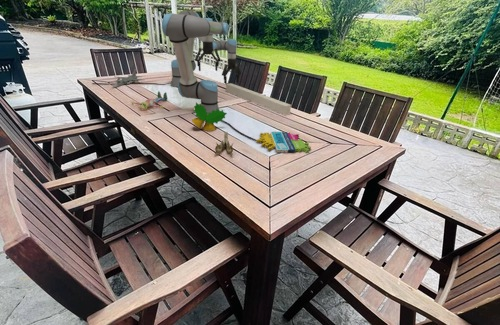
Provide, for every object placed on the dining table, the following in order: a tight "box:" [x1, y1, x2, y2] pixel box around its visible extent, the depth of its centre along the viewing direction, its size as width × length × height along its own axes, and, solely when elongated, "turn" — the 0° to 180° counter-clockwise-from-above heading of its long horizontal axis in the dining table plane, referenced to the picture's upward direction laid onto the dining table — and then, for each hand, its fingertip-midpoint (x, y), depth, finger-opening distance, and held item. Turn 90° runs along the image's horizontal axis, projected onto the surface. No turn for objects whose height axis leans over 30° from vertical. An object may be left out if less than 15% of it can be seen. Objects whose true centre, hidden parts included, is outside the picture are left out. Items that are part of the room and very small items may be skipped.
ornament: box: [191, 102, 228, 132], centre depth 162 cm, size 21×8×15 cm, turn 105°
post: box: [225, 82, 292, 116], centre depth 222 cm, size 77×6×7 cm, turn 39°
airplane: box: [110, 68, 145, 89], centre depth 248 cm, size 38×31×10 cm
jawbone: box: [214, 131, 234, 156], centre depth 136 cm, size 9×15×10 cm
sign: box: [255, 131, 312, 154], centre depth 152 cm, size 26×2×30 cm
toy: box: [130, 91, 168, 111], centre depth 196 cm, size 28×7×30 cm
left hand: (231, 82), depth 242 cm, fingers open, 13 cm apart
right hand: (208, 70), depth 207 cm, fingers open, 13 cm apart
